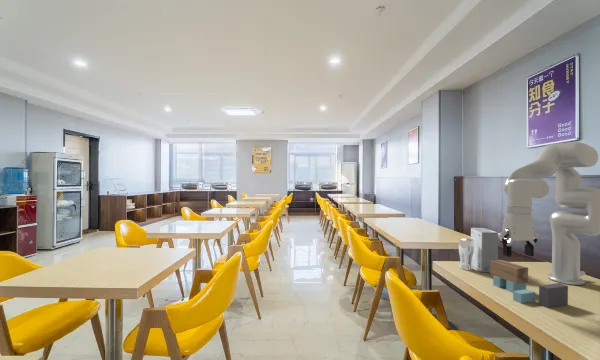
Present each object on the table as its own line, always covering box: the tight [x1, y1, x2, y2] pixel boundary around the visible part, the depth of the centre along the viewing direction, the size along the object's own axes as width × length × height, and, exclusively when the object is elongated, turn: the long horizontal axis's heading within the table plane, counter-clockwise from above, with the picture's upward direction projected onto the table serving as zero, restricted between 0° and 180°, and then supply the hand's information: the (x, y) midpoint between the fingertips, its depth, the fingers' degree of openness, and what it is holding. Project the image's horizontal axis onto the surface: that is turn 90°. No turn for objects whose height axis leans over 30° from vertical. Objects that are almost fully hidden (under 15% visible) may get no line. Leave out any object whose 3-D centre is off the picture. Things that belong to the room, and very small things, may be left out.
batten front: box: [505, 280, 527, 293], centre depth 122 cm, size 7×3×4 cm, turn 106°
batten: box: [512, 288, 536, 304], centre depth 112 cm, size 7×3×4 cm, turn 106°
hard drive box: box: [470, 227, 499, 273], centre depth 152 cm, size 16×8×20 cm, turn 168°
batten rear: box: [492, 275, 506, 288], centre depth 128 cm, size 7×3×4 cm, turn 106°
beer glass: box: [458, 237, 474, 271], centre depth 151 cm, size 7×7×15 cm
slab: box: [489, 259, 529, 284], centre depth 125 cm, size 6×12×6 cm, turn 16°
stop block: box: [538, 282, 569, 309], centre depth 108 cm, size 10×3×7 cm, turn 106°
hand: (518, 255), depth 113 cm, fingers open, 9 cm apart
